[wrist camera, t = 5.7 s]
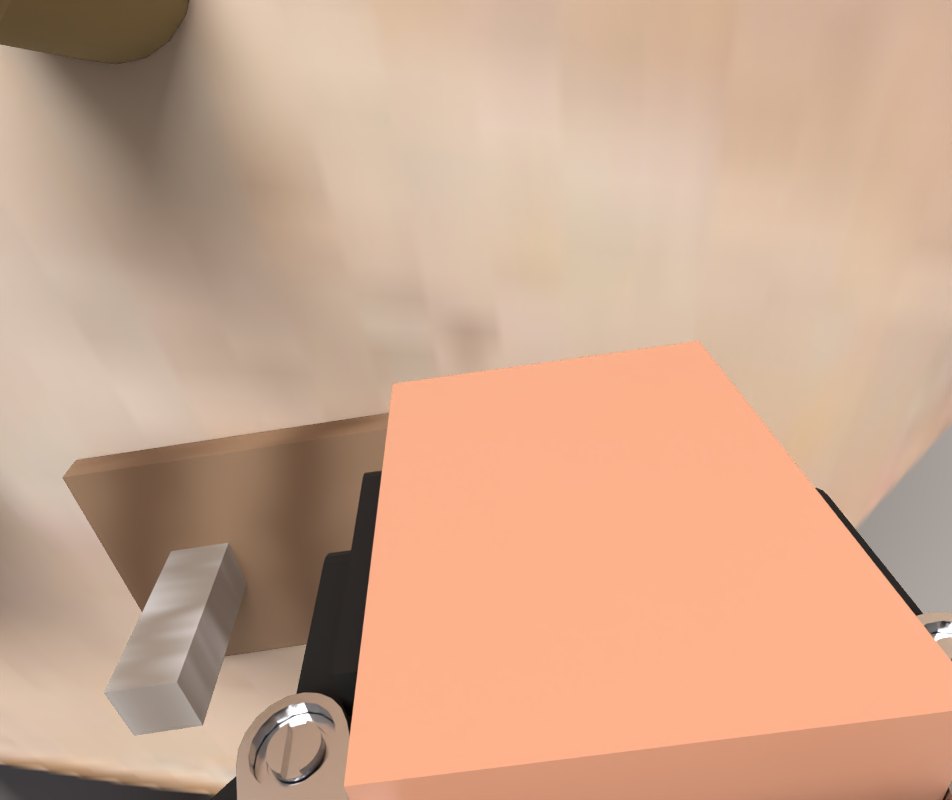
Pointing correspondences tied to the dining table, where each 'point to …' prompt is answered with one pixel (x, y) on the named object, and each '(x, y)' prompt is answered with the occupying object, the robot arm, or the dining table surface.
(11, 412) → the dining table surface
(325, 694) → the robot arm
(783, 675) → the salmon pink foam cube
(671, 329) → the dining table surface
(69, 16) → the cork
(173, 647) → the peg stand
